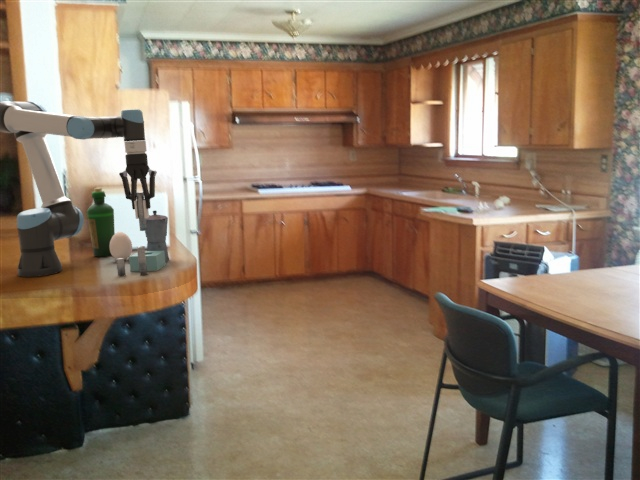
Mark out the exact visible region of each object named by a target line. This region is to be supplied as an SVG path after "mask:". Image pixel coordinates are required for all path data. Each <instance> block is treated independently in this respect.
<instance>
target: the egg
mask: <svg viewBox="0 0 640 480" xmlns="http://www.w3.org/2000/svg"><path fill="white" fill-rule="evenodd" d="M109 247H110V252H111V256H112V257H113V258H114V259H115V260H116V259H118V258H124V261H125V260H127V259H128V258H129V256H131V254H132V253H133V243H132V240H131V238H130V237H129V235H127V234H126V232H123V231H118V232H116V233H115V234H114V235H113V237H112V238H111V241H110V245H109Z"/></svg>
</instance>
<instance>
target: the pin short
mask: <svg viewBox="0 0 640 480" xmlns="http://www.w3.org/2000/svg"><path fill="white" fill-rule="evenodd" d="M115 260H116V269H117V276H118V277H123V276H124V275H125V276H126V265H125V260H124V258H118V259H115Z"/></svg>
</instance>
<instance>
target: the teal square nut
mask: <svg viewBox="0 0 640 480" xmlns="http://www.w3.org/2000/svg"><path fill="white" fill-rule="evenodd" d="M145 255H146V264H147V272H151V271H152V272H156V271H159V270H161V269H162V268H163V267H164V266H166V262H165V251H147V250H145ZM128 258H129V269H130V272H140V270H139V261H138V252H134V253H133V254H132V255H130V256H129V257H128Z"/></svg>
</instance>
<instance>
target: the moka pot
mask: <svg viewBox="0 0 640 480" xmlns="http://www.w3.org/2000/svg"><path fill="white" fill-rule="evenodd" d="M157 212H158V211H157V210H153V211H152V214H151V215H150V214H149V217H148V218H146V222H147V230H146V231H144V233H145V237H146V241H147V244H146V251H165V263H166V262H169V260H170V257H169V253H168V252H169V251H168V248H167V237H168V235H167V234H168V223H169V222H168V219H169V218H168V216H166V215H161V214H157Z"/></svg>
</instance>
